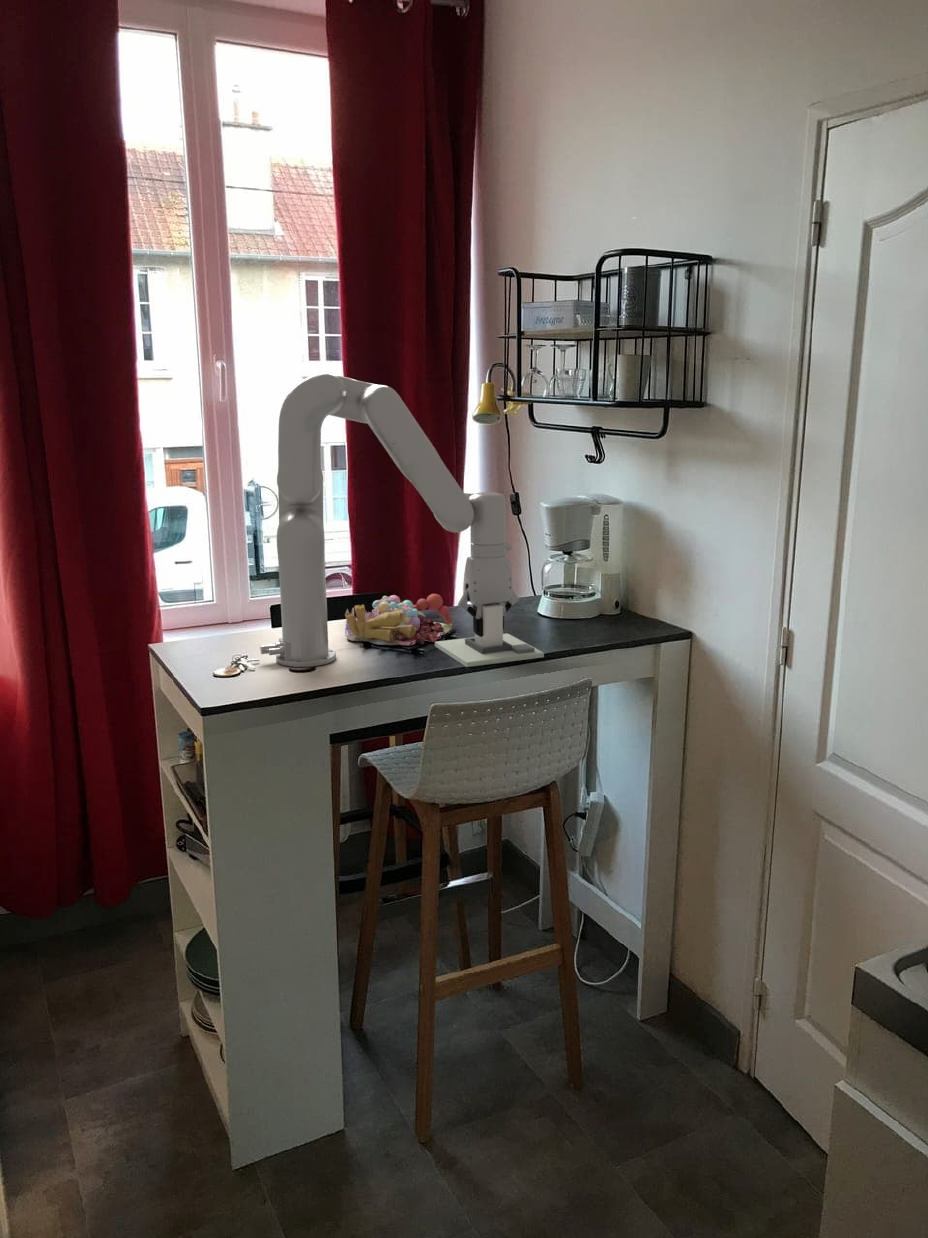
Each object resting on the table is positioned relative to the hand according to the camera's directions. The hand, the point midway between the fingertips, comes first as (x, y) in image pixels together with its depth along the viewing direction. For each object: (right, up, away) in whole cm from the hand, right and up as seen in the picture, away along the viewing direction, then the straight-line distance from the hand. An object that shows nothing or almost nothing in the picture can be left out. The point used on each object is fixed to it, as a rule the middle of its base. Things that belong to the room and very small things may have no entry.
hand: (488, 633), depth 212 cm
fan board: (0, -4, +1) cm, 4 cm away
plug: (0, -2, +1) cm, 2 cm away
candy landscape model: (-21, -1, +17) cm, 27 cm away
